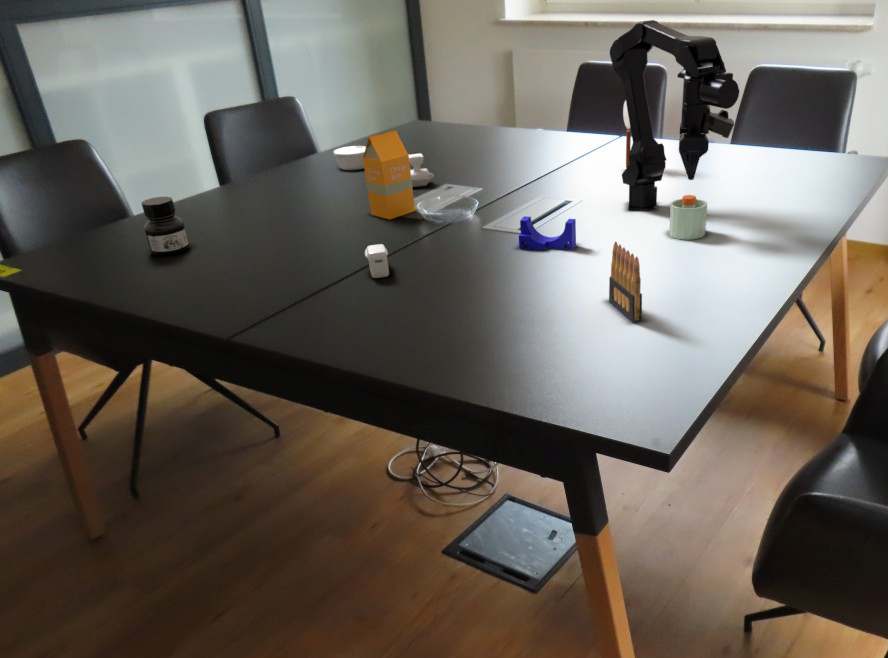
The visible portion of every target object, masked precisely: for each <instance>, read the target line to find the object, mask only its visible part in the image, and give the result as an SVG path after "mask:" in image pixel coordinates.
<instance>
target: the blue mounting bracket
mask: <svg viewBox="0 0 888 658" xmlns="http://www.w3.org/2000/svg"><path fill="white" fill-rule="evenodd" d="M576 221H577V220H576V218H568V219H567V220H566V221H565V222H564V229H563V231H562V233H561V234H559V235H557V236H546V235H544V234H542V233H540V232H539V231H538V230H537V229H536V228H535V227H534V225H533V222H532V217H531V216H523V217H522V218H521V219H520V221H519V225H520V227H519V228H520V233H519V234H518V248H519V249H520V250H534V251H546V250H547V249H555V250H574V249H575V247H576V246H577V226H576V225H577V222H576Z"/></svg>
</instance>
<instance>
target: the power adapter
mask: <svg viewBox="0 0 888 658" xmlns="http://www.w3.org/2000/svg"><path fill="white" fill-rule="evenodd" d="M388 255H389V252H388V249H387V248H386V246H385V245H384V244H383V243H378V244H371V245H368V246H367V247H366V248H365V250H364V256H365V258H366V259H367V260H368V266H369V271H370V276H371V277H372V278H373V279H379V278H387V277H389V276H390V269H389V267H390V266H389V260H388Z"/></svg>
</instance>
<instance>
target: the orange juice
mask: <svg viewBox="0 0 888 658" xmlns="http://www.w3.org/2000/svg"><path fill="white" fill-rule="evenodd" d="M365 147H366V149H365V152H364V155H363V163H364V168H363V169H364V176H365V182H366V183H365V184H366V191H367V196H368V203H369V209H370V215H371V216H375V217H378V218H382V219H386V220H393V219H396V218H398V217H401V216H404V215H408V214H410V213H413V212H416V206H415V198H414V189H413V188H414V187H413V186H412V178H411V172H410V170H411V164H410V161H409V155H410V154H409V153H408V151H407V149H406V148H405V146H404V144H403V142H402V140H401V138H400V136H399V134H398V132H397V130H396V129H393V130H390V131H385V132H381V133H378V134H374V135H370V136H368V138H367V142H366V146H365Z"/></svg>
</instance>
